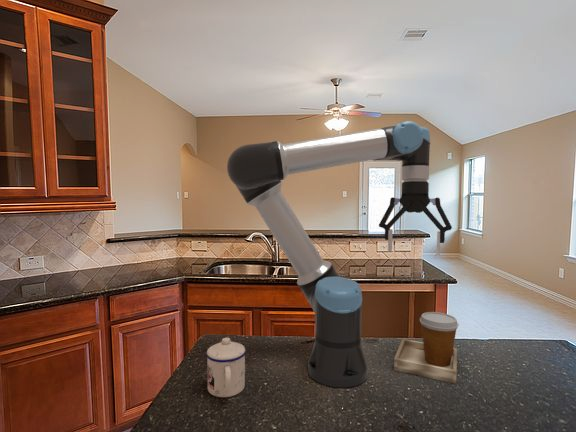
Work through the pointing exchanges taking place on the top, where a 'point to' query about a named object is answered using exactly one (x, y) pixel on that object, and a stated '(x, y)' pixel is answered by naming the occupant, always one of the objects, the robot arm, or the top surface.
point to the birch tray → (423, 362)
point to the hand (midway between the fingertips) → (413, 252)
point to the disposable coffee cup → (438, 337)
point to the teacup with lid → (226, 368)
